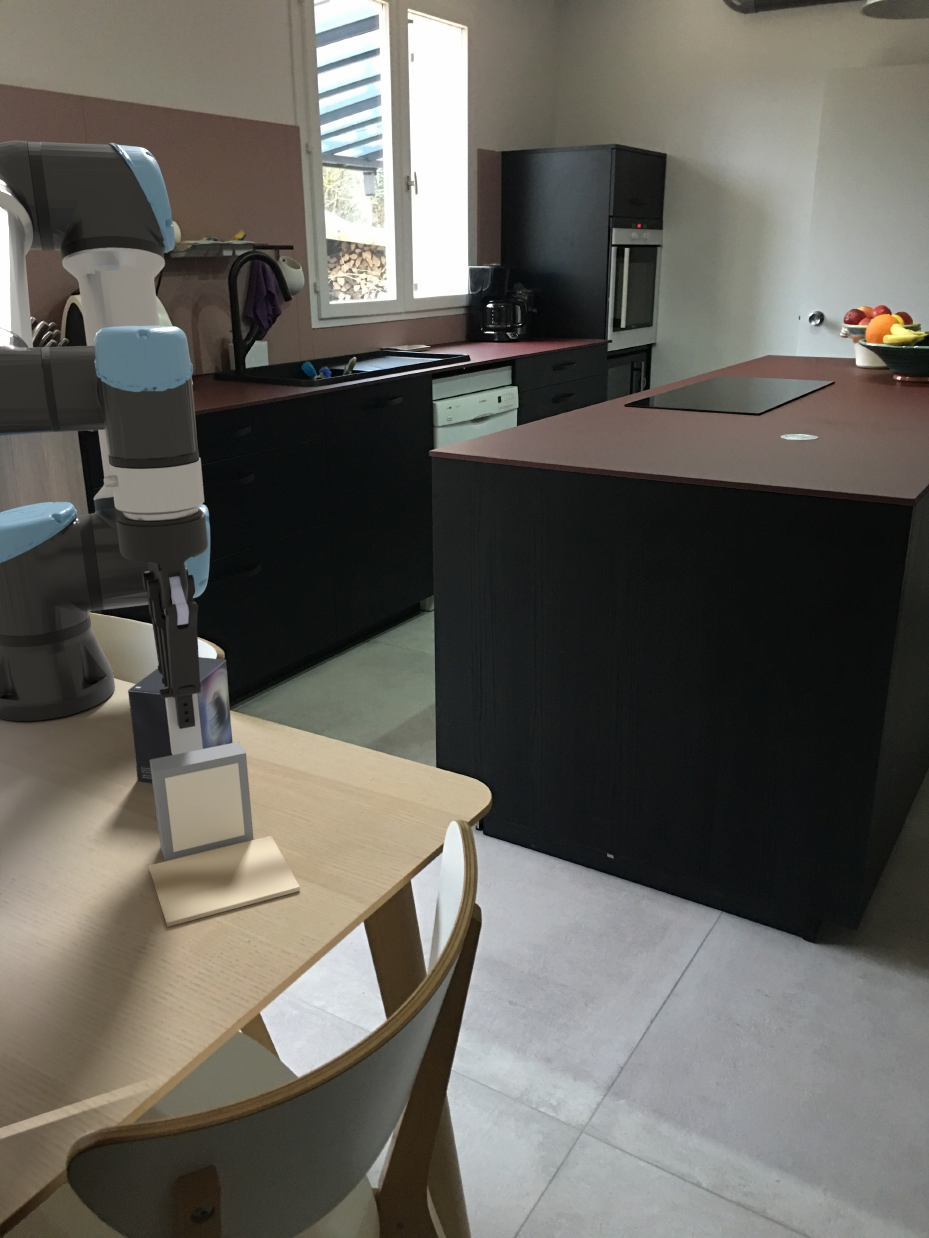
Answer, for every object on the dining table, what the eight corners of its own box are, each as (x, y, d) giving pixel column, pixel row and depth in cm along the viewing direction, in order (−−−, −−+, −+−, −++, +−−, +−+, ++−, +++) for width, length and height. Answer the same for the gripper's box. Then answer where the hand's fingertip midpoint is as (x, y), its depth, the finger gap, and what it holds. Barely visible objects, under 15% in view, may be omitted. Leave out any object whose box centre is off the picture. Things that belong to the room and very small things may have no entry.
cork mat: (149, 869, 86) (148, 865, 86) (271, 839, 90) (271, 835, 90) (167, 926, 78) (166, 922, 78) (299, 890, 83) (299, 886, 83)
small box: (193, 789, 99) (183, 695, 96) (135, 783, 101) (122, 690, 97) (236, 744, 109) (228, 656, 106) (183, 739, 110) (173, 652, 107)
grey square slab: (160, 847, 89) (149, 759, 86) (247, 826, 93) (239, 741, 90) (165, 861, 87) (154, 772, 84) (253, 840, 90) (246, 753, 87)
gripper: (106, 500, 89) (136, 733, 97) (126, 530, 78) (158, 791, 86) (189, 492, 92) (212, 719, 100) (219, 520, 81) (243, 773, 89)
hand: (187, 752), depth 93 cm, fingers closed
